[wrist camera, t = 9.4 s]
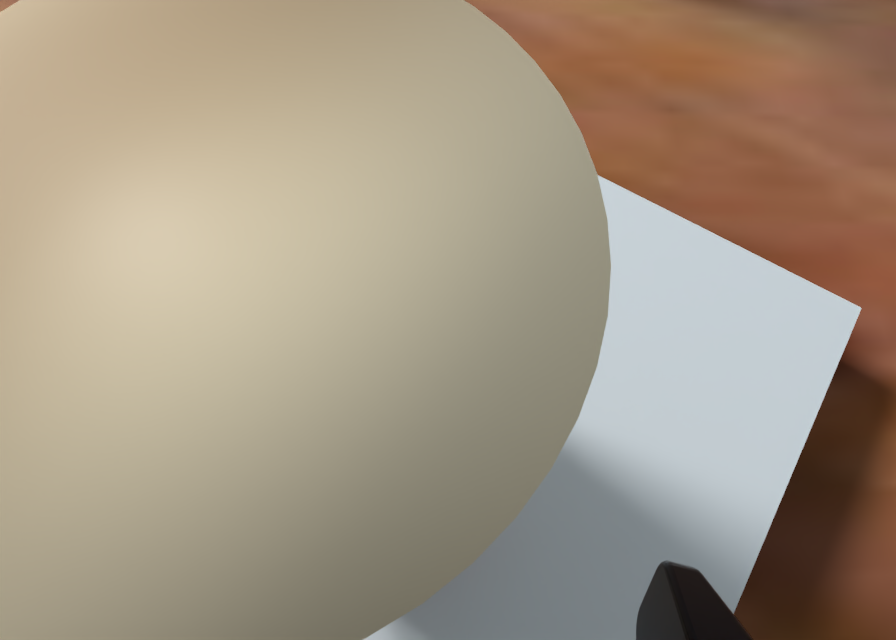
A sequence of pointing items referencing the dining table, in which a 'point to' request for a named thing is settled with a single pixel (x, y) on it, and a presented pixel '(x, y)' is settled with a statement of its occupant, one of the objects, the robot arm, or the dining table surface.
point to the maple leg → (278, 310)
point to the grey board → (658, 440)
